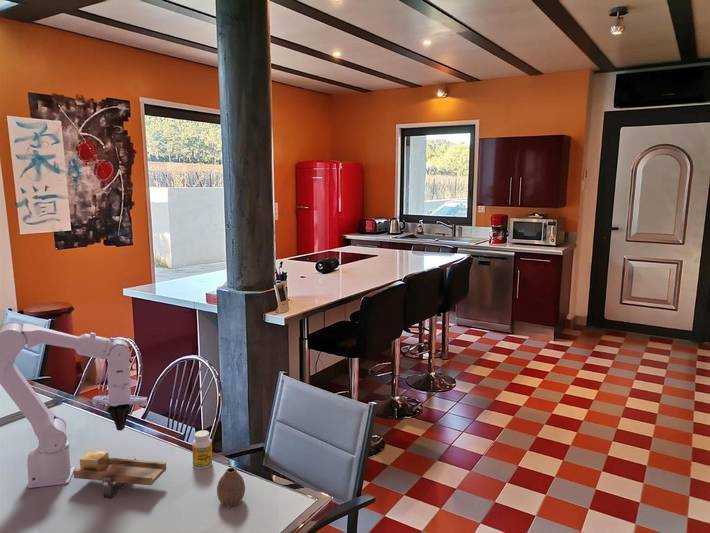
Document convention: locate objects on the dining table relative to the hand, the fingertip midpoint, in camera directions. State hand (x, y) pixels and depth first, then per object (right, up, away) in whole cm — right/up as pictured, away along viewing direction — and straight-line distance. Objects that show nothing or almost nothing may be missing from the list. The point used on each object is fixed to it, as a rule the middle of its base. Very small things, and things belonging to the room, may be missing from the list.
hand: (120, 428), depth 145 cm
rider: (-3, -7, -9) cm, 12 cm away
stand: (+4, -12, -10) cm, 16 cm away
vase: (+35, -14, -15) cm, 40 cm away
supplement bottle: (+22, -11, +2) cm, 25 cm away
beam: (+4, -8, -10) cm, 14 cm away
